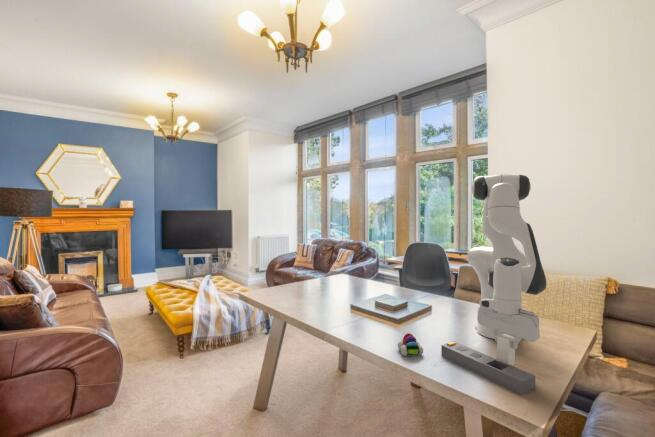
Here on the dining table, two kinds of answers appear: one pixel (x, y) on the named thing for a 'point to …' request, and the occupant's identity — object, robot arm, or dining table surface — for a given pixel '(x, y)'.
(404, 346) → the multicoloured domed toy
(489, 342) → the dining table surface
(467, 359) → the power strip
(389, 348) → the dining table surface
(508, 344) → the charger plug
